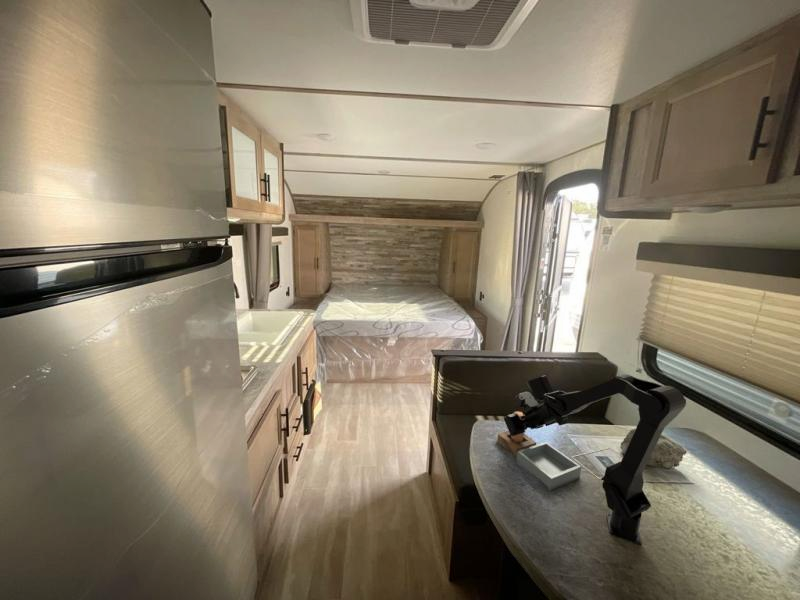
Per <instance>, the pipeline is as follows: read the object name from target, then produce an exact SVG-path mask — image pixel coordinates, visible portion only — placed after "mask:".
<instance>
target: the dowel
mask: <svg viewBox="0 0 800 600" xmlns="http://www.w3.org/2000/svg"><path fill="white" fill-rule="evenodd" d="M514 413H516V414H518V416H519V418H520V419H521V416H524V415H523V413H522V411H514V412H513V414H514ZM523 420H524V419H523ZM524 424H525V423H524ZM524 434H525V433H522V434H519V435H515V436H512V435H511V440H512V441H514V442H515V443H516V444H519V443H522V442H523V436H524Z"/></svg>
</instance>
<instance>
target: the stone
mask: <svg viewBox="0 0 800 600" xmlns="http://www.w3.org/2000/svg"><path fill="white" fill-rule="evenodd" d="M635 429H636V428H633V429H630V431H629V432H628V433H627V434H626V436H625V437H624V438H623V441H622V442H621V443H620V447H619V448H620V450H621V453H623V455H624V454H625V451H626V449H627V447H628V445H629V443H630V440H631V438H632V436H633V434H634V432H635ZM687 451H688V450H687V449H685V448H684V446H682V445H680V444H679V443H677V442H675V441H674V440H673V439H671V438H670V437H669V436H668V435H666V434H663V433H662V434H661V436H660V438H659V440H658V442H657V444H656V446H655V448H654V450H653V452H652V454H651V456H650V458H649V460H648V462H647V464H646V466H652V467H663V468H666V469H671V468H676V467H679V466H680V462H682V461H683V457H684V456H685V455H686V454H687Z"/></svg>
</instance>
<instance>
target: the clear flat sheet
mask: <svg viewBox="0 0 800 600" xmlns="http://www.w3.org/2000/svg"><path fill="white" fill-rule="evenodd" d="M609 449H610V450H612V451H613V452H614V453H616V454H618V455H619V456H620V457H622V458H623V456H624V455H622V454H621V453H619V452H618V451H616V450H615V449H613V448H611V447H605V448H602V449H598V450H594V451H588V452H586V453H585V452H584V453H581V454H576V455H573V456H570V459H572V460H573V461H574V462H576V463H577V464H579V465H580V466H581V467H583V468H584V469H585V470H587V471H588V472H589V473H590V474H592V475H593V476H594V475H595V476H594V477H596V478H597V479H598V480H601V478H603V477H604V476H602V477H599V476H597V475H596V474H595V473H594V472H592V471H591V470H590V469H589V468H587V467H586V466H584V464H582V463H580V462H579V461H578V460H577V459H575V458H576V457H580V456H584V455H588V453H589V454H593V453H596V451H597V452H602V451H604V450H609ZM592 452H593V453H592Z"/></svg>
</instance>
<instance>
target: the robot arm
mask: <svg viewBox="0 0 800 600" xmlns="http://www.w3.org/2000/svg"><path fill="white" fill-rule="evenodd" d="M526 385H527V387H528V389H529V391H530V392H529V391H524V392H523V391H522V392H520V393H519V394H517V395H515V396H514V399H513V402H514V404H515V405H516V406H517V407H518V408H521V409H522V410H521V412H522V413H523V415H524V416H521V419H520V418H519V416H518V414H516V413H514V412H513V413H512V414H507V415H505V416H504V417H503V421H504V423H505V425H506V428H507V431H509V432H510V435H512V436H515V435H519V434H522V433H524V434H526V430H528V429H530V430H534V429H541V428H543V427H544V426H545V427H548V426H552V425H554V424H556V422H557V425H558V426H563V425H566V424H569V416H570V415H572V414H576V413H579V412H581V411H582V410H584V409H586V408H587V407H588V406H589V405H591V404H592V403H596V402H598V401H601V400H604V399H608V398H610V397H613V396H616V395H618V394H620V395H622V396H624V397H625V398H626V399H627V400H628V401H630V402H631V403H632V404H634V405H636V406H638V408H637V410H638V415H639V420H638V423H637V425H636V428H634V429H635V432H634V434H633V436H632V438H631V440H630V443H629V445H628V447H627V449H626V451H625V454H624V453H623V455H622V456H623V457H622V458H621V461H618V462H617V463H613V464H611V465H609V466H607V467H606V468H605V471H604V475H603V476H602V477H603V478H602V477H600V478H601V479H600V480H601V481H602V486H601V487H602V489H603V490H604V494H605V495H604V496H605V499H606V505H607V508H608V509H610V510H611V514H609V513H606V520H607V525H608V530H609V533H610V535H611V536H613V537H616V538H619V539H622V540H625V541H628V542H631V543H634V544H636V545H639V546H641V545H642V546H643V541H642V538H641V534H640V531H639V529H640V525H641V520H642V513H643V512H645V511H648V510H649V509H650V508H651V507H652V503H650V501H649V499H648V498H647V496H646V494H645V492H644V491H643V488H644V481H645V480H644V478H643V472H644V470H645V469H646V467H647V465H646V464H647V462H648V460H649V458H650V456H651V454H652V452H653V450H654V448H655V446H656V444H657V442H658V440H659V438H660V436H661V434H663V431H664V430H665V428H666V426H668V425H669V424H670V423H671V422H672V421H674V419H676V418H677V417H678V416H679V414H680V413H681V412H682V411H683V410H684V409H685V407H686V405H687V399H686V398H685V396H684V395H683V393H682V392H681V391H680V390H679V389H677V388H675V387H673V386H672V385H671V386H669V385H661V384H659V383H656V382H653V381H649V380H645V379H642V378H641V379H640V378H637V377H636V376H633V375H631V374H626V373H624V374H620V375H616V376H613V377H611V379H608V380H605V381H602V382H600V383H598V384H595V385H592V386H590V387H587V388H584V389H582V390H576V391H569V392H566V391H564V390H555V391H554V389H553V387H552V385H551V383H550V382H549V379H548V376H547V375H542V376H541V375H540V376H538V377H537V378H534V379H530V380H528V381H526ZM538 401H539V402H543V403H539V402H538ZM523 419H524V420H523ZM524 423H525V424H524Z"/></svg>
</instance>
